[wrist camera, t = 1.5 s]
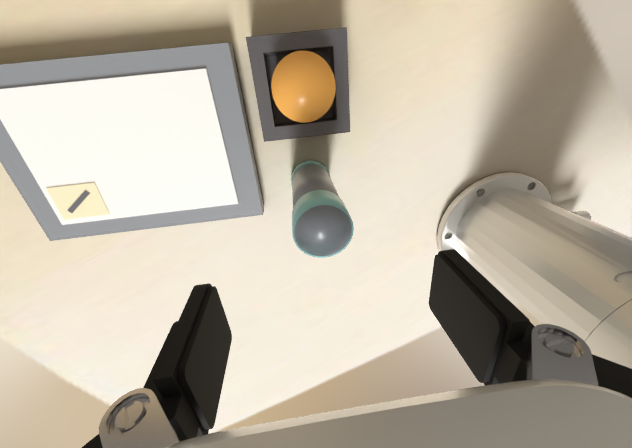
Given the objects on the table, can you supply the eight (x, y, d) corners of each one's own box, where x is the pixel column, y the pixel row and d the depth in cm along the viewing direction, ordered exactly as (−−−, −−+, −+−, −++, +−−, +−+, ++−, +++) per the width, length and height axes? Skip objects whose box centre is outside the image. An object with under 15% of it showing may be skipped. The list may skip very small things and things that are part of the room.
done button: (328, 51, 20) (333, 47, 18) (332, 116, 22) (337, 119, 20) (268, 57, 20) (266, 54, 17) (278, 122, 22) (276, 125, 19)
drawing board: (232, 45, 21) (227, 41, 20) (264, 208, 27) (262, 216, 26) (-35, 71, 20) (-63, 69, 19) (62, 233, 27) (46, 242, 25)
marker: (328, 157, 26) (352, 199, 16) (330, 194, 28) (354, 253, 18) (288, 162, 26) (288, 207, 16) (293, 199, 27) (296, 261, 18)
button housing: (339, 35, 21) (346, 27, 19) (343, 127, 25) (350, 132, 22) (251, 43, 21) (245, 37, 19) (266, 135, 24) (264, 141, 22)
